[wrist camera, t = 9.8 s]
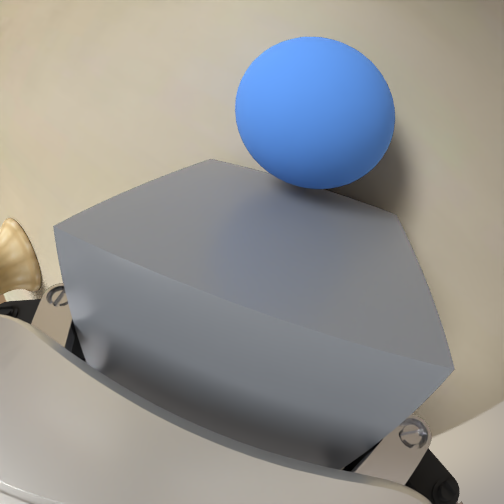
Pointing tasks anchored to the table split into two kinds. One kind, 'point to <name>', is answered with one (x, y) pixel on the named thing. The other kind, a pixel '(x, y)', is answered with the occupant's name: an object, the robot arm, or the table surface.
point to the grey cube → (256, 309)
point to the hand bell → (17, 259)
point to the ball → (315, 112)
